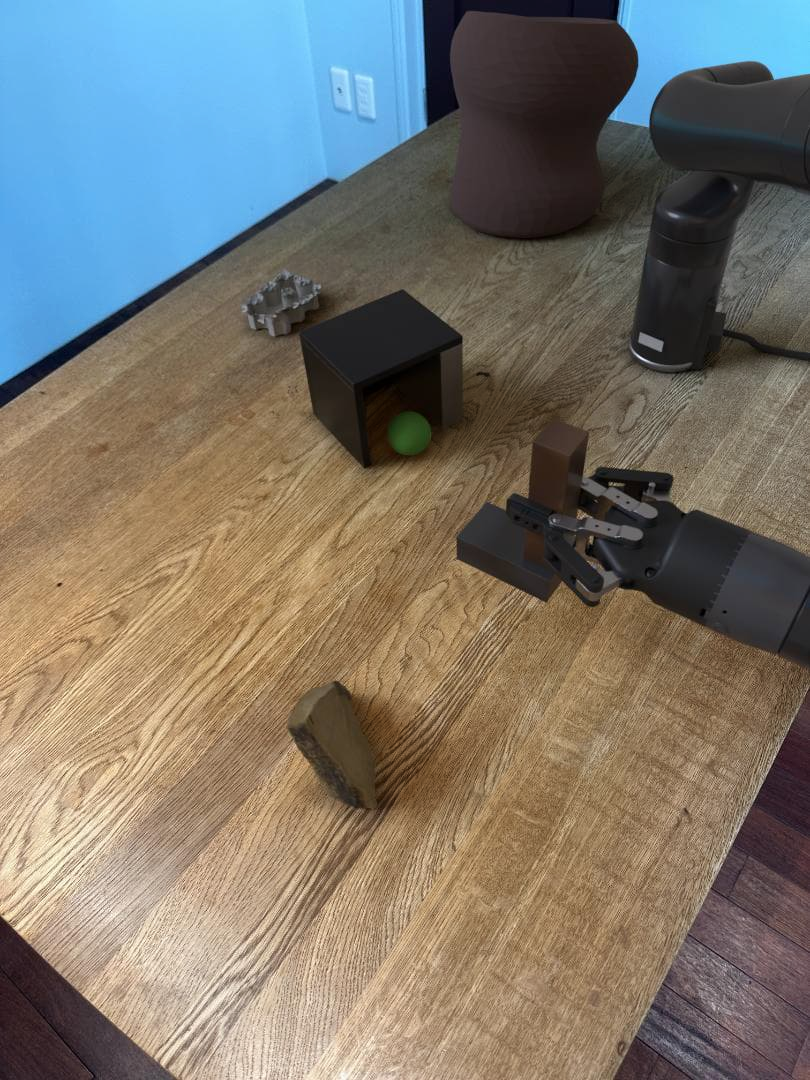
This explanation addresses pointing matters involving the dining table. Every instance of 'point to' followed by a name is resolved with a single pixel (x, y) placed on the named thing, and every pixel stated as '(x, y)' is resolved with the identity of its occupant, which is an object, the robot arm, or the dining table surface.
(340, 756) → the rock
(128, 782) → the dining table surface
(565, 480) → the post on dark base
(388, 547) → the dining table surface
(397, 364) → the black open box
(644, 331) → the robot arm
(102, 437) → the dining table surface
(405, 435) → the ball
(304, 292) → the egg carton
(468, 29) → the vase
